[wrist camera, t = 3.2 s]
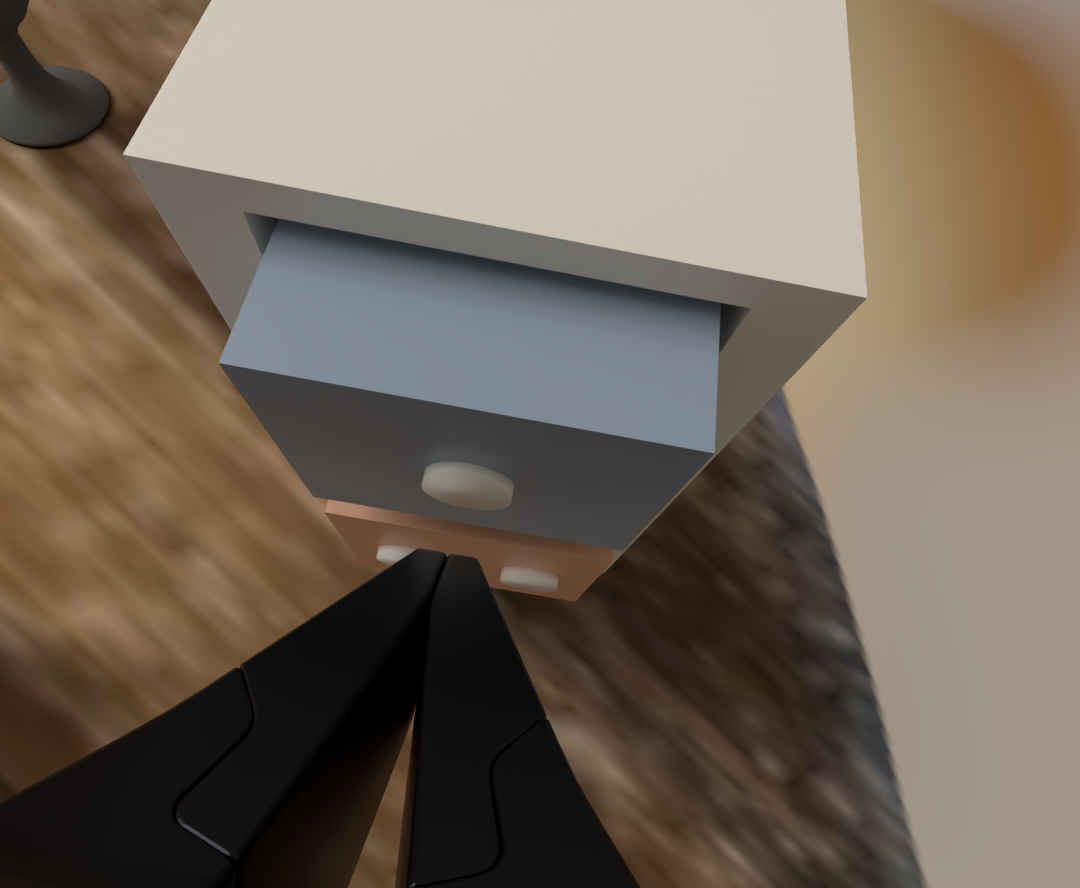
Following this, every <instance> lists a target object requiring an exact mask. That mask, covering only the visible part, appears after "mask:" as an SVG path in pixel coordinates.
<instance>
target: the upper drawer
mask: <svg viewBox="0 0 1080 888" xmlns="http://www.w3.org/2000/svg"><path fill="white" fill-rule="evenodd" d="M720 312H721V303H719V302H714V301H709V300H704V299H698V298H693V297H688V296H683V295H677V294H672V293H667V292H662V291H657V290H651V289H646V288H641V287H636V286H630V285H625V284H620V283H615V282H609V281H604V280H599V279H594V278H588V277H583V276H578V275H573V274H567V273H562V272H557V271H552V270H547V269H541V268H536V267H531V266H526V265H520V264H515V263H510V262H505V261H499V260H494V259H489V258H484V257H478V256H473V255H468V254H463V253H457V252H452V251H447V250H442V249H436V248H431V247H426V246H421V245H416V244H410V243H405V242H400V241H395V240H389V239H384V238H379V237H374V236H368V235H363V234H358V233H353V232H347V231H342V230H337V229H332V228H326V227H321V226H316V225H311V224H305V223H300V222H295V221H290V220H285V219H278V221H277V224H276V226H275V228H274V231H273V233H272V236H271V238H270V240H269V243H268V245H267V248H266V250H265V253H264V255H263V257H262V260H261V262H260V265H259V267H258V269H257V272H256V274H255V277H254V279H253V281H252V284H251V286H250V289H249V291H248V293H247V296H246V298H245V301H244V303H243V305H242V308H241V310H240V313H239V315H238V318H237V320H236V322H235V325H234V327H233V330H232V332H231V334H230V337H229V339H228V342H227V344H226V346H225V349H224V351H223V354H222V356H221V358H220V361H219V364H220V366H221V367H222V368H223V370H224V371H225V373H226V374H227V376H228V377H229V378H230V380H231V381H232V383H233V384H234V385H235V387H236V388H237V390H238V391H239V392H240V394H241V395H242V397H243V398H244V399H245V401H246V402H247V404H248V405H249V406H250V408H251V409H252V411H253V412H254V414H255V415H256V416H257V418H258V419H259V421H260V422H261V423H262V425H263V426H264V428H265V429H266V430H267V432H268V433H269V435H270V436H271V437H272V439H273V440H274V442H275V443H276V445H277V446H278V447H279V449H280V450H281V452H282V453H283V454H284V456H285V457H286V459H287V460H288V461H289V463H290V464H291V466H292V467H293V468H294V470H295V471H296V473H297V474H298V476H299V477H300V478H301V480H302V481H303V483H304V484H305V485H306V487H307V488H308V490H309V491H310V492H311V494H312V495H313V497H318V498H324V499H329V500H335V501H341V502H346V503H352V504H358V505H363V506H369V507H375V508H381V509H386V510H392V511H398V512H403V513H409V514H415V515H420V516H426V517H432V518H437V519H443V520H449V521H454V522H460V523H466V524H472V525H477V526H483V527H489V528H494V529H500V530H506V531H511V532H517V533H523V534H528V535H534V536H540V537H546V538H551V539H557V540H563V541H568V542H574V543H580V544H585V545H591V546H597V547H602V548H608V549H614V550H619V551H623V550H624V549H625V548H626V547H627V546H628V545H629V544H630V543H631V542H632V541H633V540H634V538H635V537H636V536H637V535H638V534H639V533H640V532H641V531H642V530H643V529H644V528H645V527H646V526H647V525H648V524H649V523H650V521H651V520H652V519H653V518H654V517H655V516H656V515H657V514H658V513H659V512H660V511H661V510H662V509H663V508H664V507H665V506H666V504H667V503H668V502H669V501H670V500H671V499H672V498H673V497H674V496H675V495H676V494H677V493H678V492H679V491H680V490H681V489H682V487H683V486H684V485H685V484H686V483H687V482H688V481H689V480H690V479H691V478H692V477H693V476H694V475H695V474H696V473H697V472H698V470H699V469H700V468H701V467H702V466H703V465H704V464H705V463H706V462H707V461H708V460H709V459H710V458H711V457H712V456H713V455H714V453H715V432H716V408H717V384H718V360H719V336H720Z"/></svg>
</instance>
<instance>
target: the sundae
mask: <svg viewBox="0 0 1080 888" xmlns="http://www.w3.org/2000/svg"><path fill="white" fill-rule="evenodd" d="M28 3H29V0H0V62H1V64H2V66H3V67H4V69H5V71H6V73H7V74H8V77H9V79H7V80H6V81H5V82H3V83H2V84H1V85H0V136H1V137H3V138H4V139H6V140H8V141H10V142H13V143H17V144H21V145H26V146H33V147H47V146H56V145H61V144H65V143H68V142H71V141H74V140H76V139H79V138H81V137H83V136H84V135H86V134H88V133H89V132H91V131H92V130H93V129H94V128H96V127H97V126H98V125H99V124H100V122H101V121H102V120H103V118H104V116H105V114H106V113H107V111H108V106H109V94H108V92H107V90H106V88H105V87H104V85H103V84H102V83H101V82H100V81H99V80H98V79H96V78H95V77H93V76H92V75H90V74H88V73H86V72H84V71H81V70H77V69H73V68H68V67H62V66H47V67H42V66H41V65H40V64H39V63H38V61H37V60H36V59H35V58H34V56H33V55H32V54H31V52H30V51H29V49H28V48H27V46H26V45H25V43H24V42H23V40H22V39H21V37H20V35H19V34H18V26H19V25H20V23H21V22H22V21H23V19H24V17H25V15H26V12H27V7H28Z"/></svg>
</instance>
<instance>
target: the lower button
mask: <svg viewBox="0 0 1080 888" xmlns="http://www.w3.org/2000/svg"><path fill="white" fill-rule="evenodd" d="M325 514H326V515H327V516H328V518H329V519H330V521H331V522H332V523H333V525H334V526H335V528H336V529H337V530H338V532H339V533H340V535H341V536H342V538H343V539H344V540H345V542H346V543H347V545H348V546H349V547H350V549H351V550H352V552H353V553H354V554H355V556H356V557H357V559H358V560H359V561H360V563H361V564H362V565H365V566H370V567H376V568H382V569H387V568H388V567H390V566H391V565H393V564H394V563H396V562H398V561H399V560H401V559H402V558H404V557H405V556H407V555H408V554H410V553H411V552H413V551H414V550H416V549H418V548H423V549H429V550H434V551H440V552H444V553H445V554H446V556H447V557H448V556H449V555H450V554H457V555H463V556H469V557H474V558H476V559H478V561H479V563H480V565H481V567H482V570H483V572H484V574H485V577H486V579H487V581H488V583H489V586H490V587H492V588H498V589H504V590H510V591H515V592H521V593H527V594H533V595H539V596H544V597H550V598H556V599H562V600H568V601H573V602H575V601H576V600H577V599H578V598H579V597H580V596H581V595H582V594H583V593H584V592H585V591H586V589H587V588H588V587H589V586H590V585H591V584H592V583H593V582H594V581H595V580H596V579H597V578H598V577H599V576H600V575H601V574H602V572H603V571H604V570H605V569H606V568H607V567H608V566H609V565H610V564H611V563H612V557H613V549H608V548H602V547H597V546H591V545H585V544H580V543H574V542H568V541H563V540H557V539H551V538H546V537H540V536H534V535H528V534H523V533H517V532H511V531H506V530H500V529H494V528H489V527H483V526H477V525H472V524H466V523H460V522H454V521H449V520H443V519H437V518H432V517H426V516H420V515H415V514H409V513H403V512H398V511H392V510H386V509H381V508H375V507H369V506H363V505H358V504H352V503H346V502H341V501H335V500H329V499H328V502H327V506H326V509H325Z"/></svg>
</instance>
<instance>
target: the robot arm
mask: <svg viewBox="0 0 1080 888" xmlns="http://www.w3.org/2000/svg"><path fill="white" fill-rule="evenodd" d="M415 708H416V710H415ZM414 711H415V717H414V724H413V732H412V740H411V749H410V758H409V766H408V775H407V784H406V793H405V802H404V811H403V819H402V828H401V837H400V846H399V855H398V864H397V872H396V881H395V888H640V886H639V884H638V883H637V881H636V879H635V878H634V876H633V874H632V873H631V871H630V869H629V868H628V866H627V865H626V863H625V861H624V860H623V858H622V856H621V855H620V853H619V851H618V850H617V848H616V846H615V845H614V843H613V841H612V840H611V838H610V837H609V835H608V833H607V832H606V830H605V828H604V827H603V825H602V823H601V822H600V820H599V818H598V817H597V815H596V813H595V811H594V810H593V808H592V806H591V804H590V803H589V801H588V799H587V797H586V796H585V794H584V792H583V790H582V789H581V787H580V785H579V783H578V782H577V780H576V778H575V776H574V774H573V771H572V769H571V767H570V765H569V763H568V761H567V759H566V757H565V755H564V753H563V751H562V749H561V747H560V745H559V742H558V740H557V738H556V736H555V733H554V731H553V729H552V726H551V724H550V722H549V720H548V719H546V713H545V711H544V709H543V706H542V704H541V702H540V700H539V697H538V695H537V693H536V691H535V688H534V686H533V684H532V681H531V679H530V677H529V675H528V672H527V670H526V668H525V665H524V663H523V661H522V659H521V656H520V654H519V652H518V650H517V647H516V645H515V643H514V640H513V638H512V636H511V634H510V631H509V629H508V627H507V624H506V622H505V620H504V618H503V615H502V613H501V611H500V608H499V606H498V604H497V602H496V599H495V597H494V595H493V593H492V590H491V588H490V586H489V583H488V581H487V579H486V577H485V574H484V572H483V570H482V567H481V565H480V563H479V561H478V559H476V558H474V557H469V556H463V555H457V554H450V555H449V556H448V557H447V556H446V554H445V553H444V552H440V551H434V550H429V549H423V548H418V549H416V550H414V551H413V552H411V553H410V554H408V555H407V556H405V557H404V558H402V559H401V560H399V561H398V562H396V563H394V564H393V565H391V566H390V567H388V568H387V569H385V570H384V571H382V572H381V573H379V574H378V575H376V576H375V577H373V578H372V579H370V580H369V581H367V582H366V583H364V584H362V585H361V586H359V587H358V588H356V589H355V590H353V591H352V592H350V593H349V594H347V595H346V596H344V597H343V598H341V599H340V600H338V601H337V602H335V603H334V604H332V605H330V606H329V607H327V608H326V609H324V610H323V611H321V612H320V613H318V614H317V615H315V616H314V617H312V618H311V619H309V620H308V621H306V622H305V623H303V624H302V625H300V626H298V627H297V628H295V629H294V630H292V631H291V632H289V633H288V634H286V635H285V636H283V637H282V638H280V639H279V640H277V641H276V642H274V643H273V644H271V645H270V646H268V647H266V648H265V649H263V650H262V651H260V652H259V653H257V654H256V655H254V656H253V657H251V658H250V659H248V660H247V661H245V662H244V663H242V664H241V666H240V668H234V669H232V670H231V671H229V672H228V673H226V674H225V675H223V676H222V677H220V678H219V679H217V680H216V681H214V682H213V683H211V684H210V685H208V686H206V687H205V688H203V689H202V690H200V691H198V692H197V693H195V694H194V695H192V696H190V697H189V698H187V699H185V700H184V701H182V702H181V703H179V704H177V705H176V706H174V707H173V708H171V709H169V710H168V711H166V712H164V713H163V714H161V715H159V716H157V717H155V718H154V719H152V720H150V721H148V722H147V723H145V724H143V725H141V726H139V727H138V728H136V729H134V730H132V731H131V732H129V733H127V734H125V735H123V736H122V737H120V738H118V739H116V740H115V741H113V742H111V743H109V744H107V745H105V746H104V747H102V748H100V749H98V750H96V751H94V752H92V753H91V754H89V755H87V756H85V757H83V758H81V759H79V760H77V761H76V762H74V763H72V764H70V765H68V766H66V767H64V768H63V769H61V770H59V771H57V772H55V773H53V774H51V775H50V776H48V777H46V778H44V779H42V780H40V781H38V782H37V783H35V784H33V785H31V786H29V787H27V788H25V789H24V790H22V791H20V792H18V793H16V794H14V795H12V796H10V797H9V798H7V799H5V800H3V801H1V802H0V888H348V886H349V883H350V880H351V878H352V875H353V873H354V870H355V867H356V865H357V862H358V860H359V857H360V854H361V852H362V849H363V846H364V844H365V841H366V839H367V836H368V833H369V831H370V828H371V826H372V823H373V820H374V818H375V815H376V813H377V810H378V807H379V805H380V802H381V800H382V797H383V794H384V792H385V789H386V787H387V784H388V781H389V779H390V776H391V774H392V771H393V768H394V766H395V763H396V761H397V758H398V755H399V753H400V750H401V748H402V745H403V742H404V740H405V737H406V735H407V732H408V729H409V726H410V723H411V720H412V718H413V715H414Z"/></svg>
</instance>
